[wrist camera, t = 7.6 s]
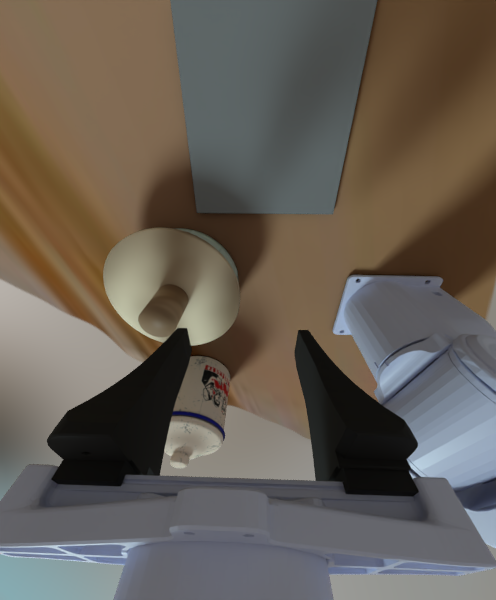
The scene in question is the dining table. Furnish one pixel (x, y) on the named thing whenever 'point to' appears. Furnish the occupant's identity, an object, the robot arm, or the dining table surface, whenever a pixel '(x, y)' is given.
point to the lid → (172, 285)
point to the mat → (269, 99)
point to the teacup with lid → (198, 412)
